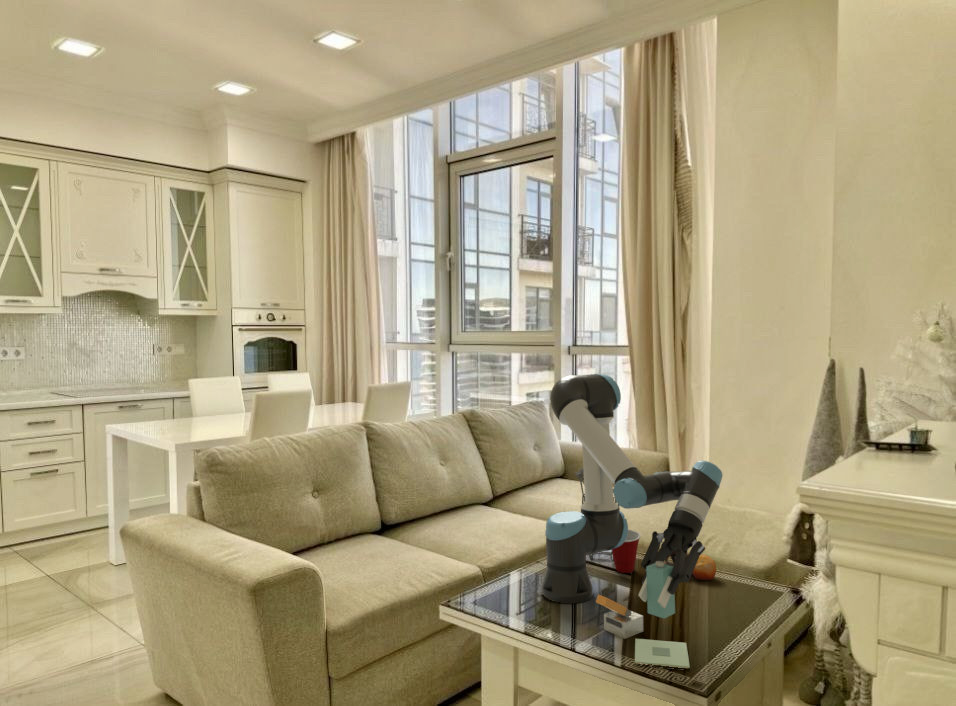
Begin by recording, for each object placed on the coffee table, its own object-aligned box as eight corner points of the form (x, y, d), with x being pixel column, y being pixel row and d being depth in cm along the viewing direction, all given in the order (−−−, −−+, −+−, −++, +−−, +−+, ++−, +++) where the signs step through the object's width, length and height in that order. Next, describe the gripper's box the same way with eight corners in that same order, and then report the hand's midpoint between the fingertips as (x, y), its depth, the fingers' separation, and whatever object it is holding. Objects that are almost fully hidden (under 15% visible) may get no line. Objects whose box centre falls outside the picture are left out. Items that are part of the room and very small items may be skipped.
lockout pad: (634, 664, 149) (634, 660, 149) (635, 641, 160) (635, 638, 160) (689, 670, 146) (689, 666, 146) (686, 646, 157) (686, 642, 157)
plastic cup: (601, 571, 211) (600, 534, 211) (617, 562, 219) (616, 527, 219) (631, 578, 204) (631, 540, 204) (647, 569, 212) (646, 532, 212)
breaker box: (622, 622, 172) (622, 607, 172) (643, 631, 166) (643, 615, 166) (603, 629, 167) (603, 614, 167) (624, 639, 162) (623, 623, 162)
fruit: (717, 569, 207) (716, 551, 203) (716, 589, 200) (715, 571, 196) (690, 566, 210) (689, 549, 206) (689, 586, 203) (687, 568, 199)
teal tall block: (647, 613, 153) (646, 562, 153) (658, 607, 156) (657, 558, 156) (664, 618, 150) (662, 566, 150) (675, 613, 152) (673, 562, 152)
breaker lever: (620, 605, 169) (596, 593, 164) (632, 610, 166) (608, 598, 161) (617, 613, 168) (594, 601, 163) (629, 618, 165) (605, 606, 160)
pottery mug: (703, 576, 206) (694, 557, 203) (677, 590, 206) (668, 571, 203) (686, 555, 217) (678, 536, 215) (661, 568, 217) (652, 550, 215)
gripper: (727, 532, 156) (692, 620, 145) (663, 519, 169) (627, 599, 159) (715, 514, 153) (678, 603, 142) (651, 502, 166) (613, 583, 155)
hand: (651, 601), depth 150 cm, fingers closed on teal tall block, 4 cm apart
